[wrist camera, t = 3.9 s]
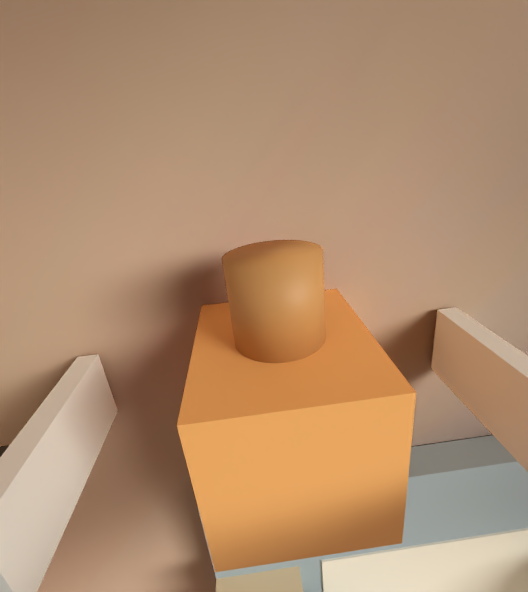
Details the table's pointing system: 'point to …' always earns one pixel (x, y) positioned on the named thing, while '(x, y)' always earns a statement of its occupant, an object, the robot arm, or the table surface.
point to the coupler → (292, 417)
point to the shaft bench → (427, 533)
